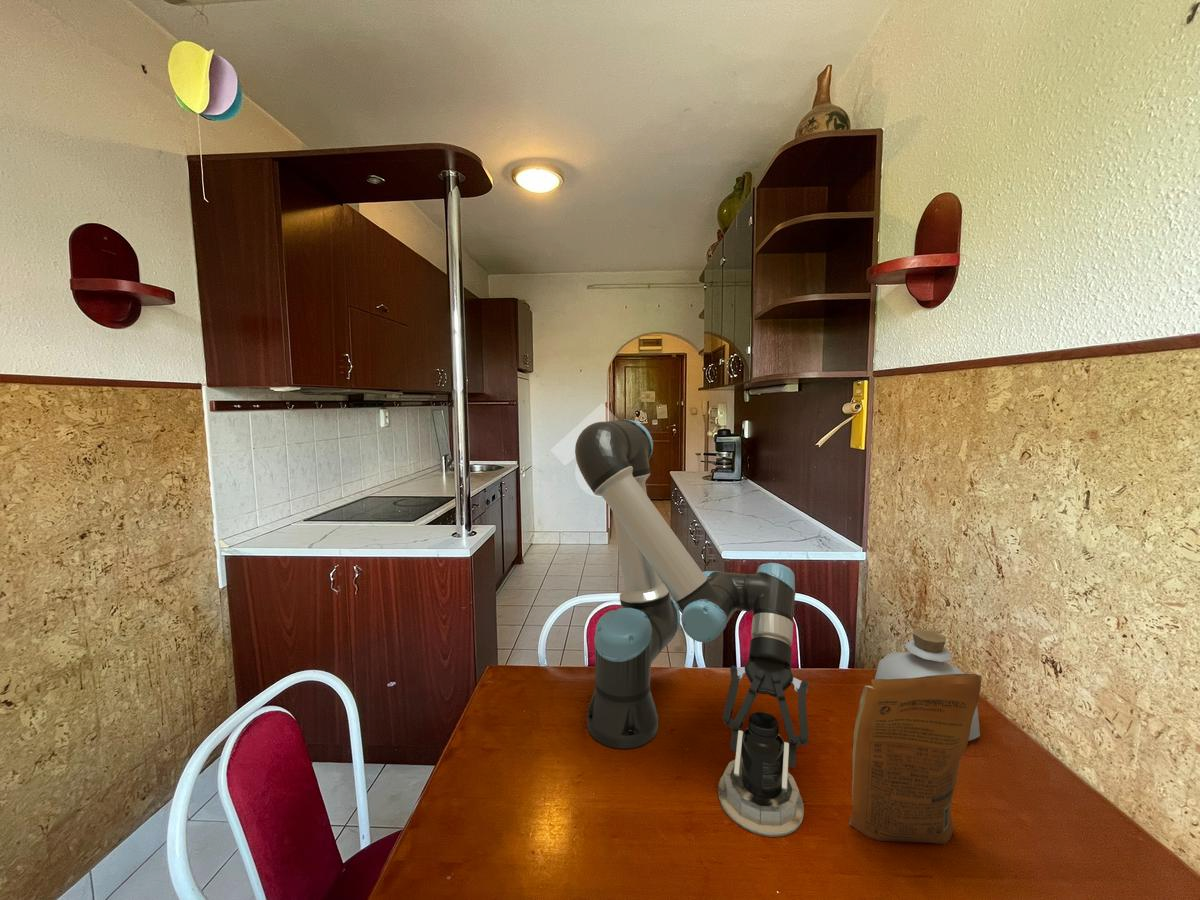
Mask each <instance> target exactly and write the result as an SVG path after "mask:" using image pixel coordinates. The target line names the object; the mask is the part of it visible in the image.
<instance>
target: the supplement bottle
mask: <svg viewBox="0 0 1200 900" xmlns="http://www.w3.org/2000/svg"><path fill="white" fill-rule="evenodd" d="M784 742H785V741H784V739H783V738H782V736H781V735H780V733H779V721H778V720H777V718H776V717H775V716H774V715H771V714H770V713H767V712H763V711H757V712H753V713H751V714H750V715H749V717H748V726H747V728H746V729H745V730H744V731H743V738H742V783H743V785H744V787H745V788H746V790H747V791H748V792H749V793H751V794H752V795H753V796H755V797H758V798H760V799H765V800H770V799H775V798H777V797H778V796H779V795H780V794H781V793H782V790H783V789H782V775H783V757H784Z"/></svg>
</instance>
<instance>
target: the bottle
mask: <svg viewBox="0 0 1200 900" xmlns="http://www.w3.org/2000/svg"><path fill="white" fill-rule="evenodd" d="M946 643H947V636H946V635H944V634H942V633H940V632H938V631H936V630H934V629H928V628H927V629H926V628H925V629H924V628H913V631H912V639H911V640H909V641H908V642H907V643H905V644H904V647H905V648H906V649H907V652H906V651H905V652H901V651H900V652H897V651H896V652H889V653H887V655H885V656H884V657H883V658H881V659H880V660H879V662H878V666H877V669H876V673H875V676H874V679H900V678H917V677H925V676H933V675H945V674H967V673H966V672H964V671H963V670H961V669H959V668H958V667H957V666H955V665H953V664H952V663H950V662H949V661H951V660H953V657H952V653H951V652H950V650H949V649H948V648H947V647H945V645H946ZM978 708H979V707H978V706H977V707H976V710H975V712H974V715H973V719H972V724H971V729H970V734H969V740H968V742H971V741H973V740H975V739H977V738H979V737H981V731H980V722H979V721H980V720H979V711H978Z"/></svg>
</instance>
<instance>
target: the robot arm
mask: <svg viewBox="0 0 1200 900" xmlns="http://www.w3.org/2000/svg"><path fill="white" fill-rule="evenodd" d="M574 448H575V449H574V454H575V461H576V464H577V467H578V469H579V472H580V473H581V475H582V477H583V479H584V480H585V482H586V484H587V485H588V488H589V489H590V490H591V491H592V493H593V494H594V495H595V496H599V497H602V499H604V501H605V502H606V504H607V505H608V507H609V509H610V510H611V511H612V517H613V523H614V530H615V535H616V541H617V548H618V555H619V559H620V566H621V572H622V573H621V574H622V578H623V579H622V580H623V585H624V588H623V590H622V591H621V592H620V593H619V602H620V606H621V607H618V608H617V609H616V610H614V609H611V610H609V611H607V612H605V613H604V614H603V615H602V616H601V617H600V618H599V619H598V621H597V623H596V625H595V634H594V638H593V640H594V641H593V643H594V673H595V675H594V683H595V684H594V691H593V694H592V697H591V700H590V703H589V706H588V708H587V713H586V727H587V731H588V733H589V734H590V735H591V737H592V738H593V739H595V741H597V742H598V743H600V744H602V745H603V746H607V747H610V748H615V749H623V750H625V749H627V750H629V749H634V748H638V747H640V746H641V747H642V746H644V745H645V744H647V743H649V742H650V741H651V740H653V739H654V738H655V736H656V735H657V732H658V728H659V714H658V711H657V709H656V705H655V701H654V698H653V695H652V691H651V669H652V668H651V667H652V663H653V662H654V661H655V659H656V658H657V657H658V656H659V655H660V653H661V652H662V651H663V650H664V649H665V648H666V647H667V645H668V644H669V643H670V642H671V641H672V640H673V639H674V638H675V635H676V634H677V632H678V630H679V627H680V623H681V625H682V629H683V631H684V632H685V634H686V635H687V636H689V637H690V638H691V639H692V640H694V641H696V642H698V643H699V642H700V643H710V642H713V641H715V640H716V639H717V638H718V637H719V635H721V634H722V632H724V630H726V628H727V624H728V622H729V621H730V619H731V618H732V616H733V615H734V614H735V612H736V611H739V612H740V611H742V612H750V613H751V612H753V614H752V622H751V632H750V633H751V634H750V636H751V638H752V639H750V643H749V651H748V660H747V663H746V664H745V666H742V667H741V666H740V667H739V666H736V665H733V664H732V665H731V666H730V668H729V669H730V679H731V680H730V684H729V687H728V692H727V696H726V700H725V705H724V708H723V714H722V721H723V723H724V725H725V726H727V727H729V728H730V729H731V736H730V743H729V746H730V750H731V751H732V752H735V759H734V760H735V768H734V774H735V776H739V777H740V770H741V760H742V738H743V733H744V731H743V730H741V729H742V727H743V725H744V723H745V720H746V719H747V717H748V714H749V712H750V710H751V708H752V706H753V704H754V703H755V700H756V698H757V697H758V694H761V695H769V696H770V697H773V698H776V699H777V703H778V707H779V710H780V714H781V718H782V722H783V725H784V728H785V732H786V736H787V741H788V742H786V741H783V742H784V757H783V775H782V789H783V790H786V791H787V778H788V773H789V767H790V768H792V769H795V767H796V765H797V748H798V747H800V746H807V745H808V743H809V729H808V726H809V725H808V717H807V716H808V713H807V701H806V700H807V699H806V695H807V693H808V690H809V683H808V681H807V680H805V679H803V680H801V679H798V678H796V677H794V675H793V673H792V670H791V669H792V655H793V654H792V652H793V649H792V647H791V646H792V645H793V635H794V633H793V632H794V613H795V602H796V601H795V600H796V580H795V579H796V575H795V573H794V571H793V570H792V569H791V568H790V567H788V566H786V565H784V564H781V563H778V562H767V563H763V564H760V565H759V566H758V567H757V570H756V573H738V572H728V571H727V572H726V571H718V570H713V571H712V570H711V571H708V570H706V571H702V569H701V568H700V567H699V566H698V564H697V563H696V561H695V560H694V558H693V557H692V556H691V555H690V552H688V550H687V549H686V547H685V546H684V545H683V543H682V541H680V539H679V538H678V536H677V535H676V534H675V532H674V530H672V528H671V527H670V525H669V524H668V523H667V521H666V520H665V519H664V517H663V516H662V514H661V513H660V512H659V510H658V508H657V507H656V506H655V505H654V503H653V501H651V499H650V498H649V496H648V493H647V486H646V481H647V480H648V478H649V477H650V476H651V469H650V468H651V467H650V463H649V460H650V459H651V457H652V455H653V451H654V441H653V438H652V435H651V434H650V431H649V430H648V429H647V428H646V427H645V426H644V425H643V424H642V423H640V422H638V421H636V420H630V419H625V418H624V419H617V420H608V421H597V422H593V423H591V424H589V425H587V426H586V427H585V428H584V429H583V430H582V431H581V432H580V434H579V435H578V437H577V440H576V442H575V447H574ZM671 596H672V597H673V598H672V597H671ZM680 609H681V611H682V612H681V613H680ZM744 675H746V677H747V679H748V680H749V682H750V685H749V688H748V691H747V693H746V695H745V697H744V699H743V701H742V703H741V706H740V707H739V710H738V712H737V713H736V716H735V718H734V719H732V716H733V712H734V709H735V703H736V699H737V694H738V690H739V685H740V684H739V683H740V682H739V681H742V680H743V678H744ZM791 685H793V687H794V688H793V689H794V691H795V693H796V694H797V708H798V723H799V735H796V733H795V730H794V725H793V722H792V719H791V715H790V711H789V707H788V703H787V701H786V696H785V693H784V692H785V691H786V690H788V688H789V687H790V686H791Z"/></svg>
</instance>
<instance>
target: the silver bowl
mask: <svg viewBox="0 0 1200 900" xmlns="http://www.w3.org/2000/svg"><path fill="white" fill-rule="evenodd" d="M734 768H735V759H733V760H731V761H729V762H728V765H727V766H726V768H725V770H724V772H723V774H722V775H721V777H720V778H719V782H718V789H717V790H718V793H717V794H718V800H719V803H720V806H721V807H722V809H723V811H724V812H725V814H726V815H727V817H729V819H731V820H732V821H733V822H734V823H735V824H737V825H738V826H740V827H741V828H742V829H745V830H746V831H749V833H753V834H756V835H759V836H764V837H771V838H780V837H784V836H788V835H790V834H792V833H794V832H796V831H797V830H798V829H799V827H801V825H802V822H803V819H804V813H805V812H804V809H805V807H804V801H803V798H802V796H801V794H800V789H799V787H798V785H797V782H796V781H795V778H794V777H793V775H792V774H791V773H790V772H788V778H787V791H786V790H782V793H781V794H780V795H779V796H778V797H777V798H775V799H770V800H765V799H760V798H758V797H755V796H753V795H752V794H751V793H749V792H748V791H747V790H746V788H745V787H744V785H743V783H742V760H741V770H740V777H739V776H735V774H734Z"/></svg>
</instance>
